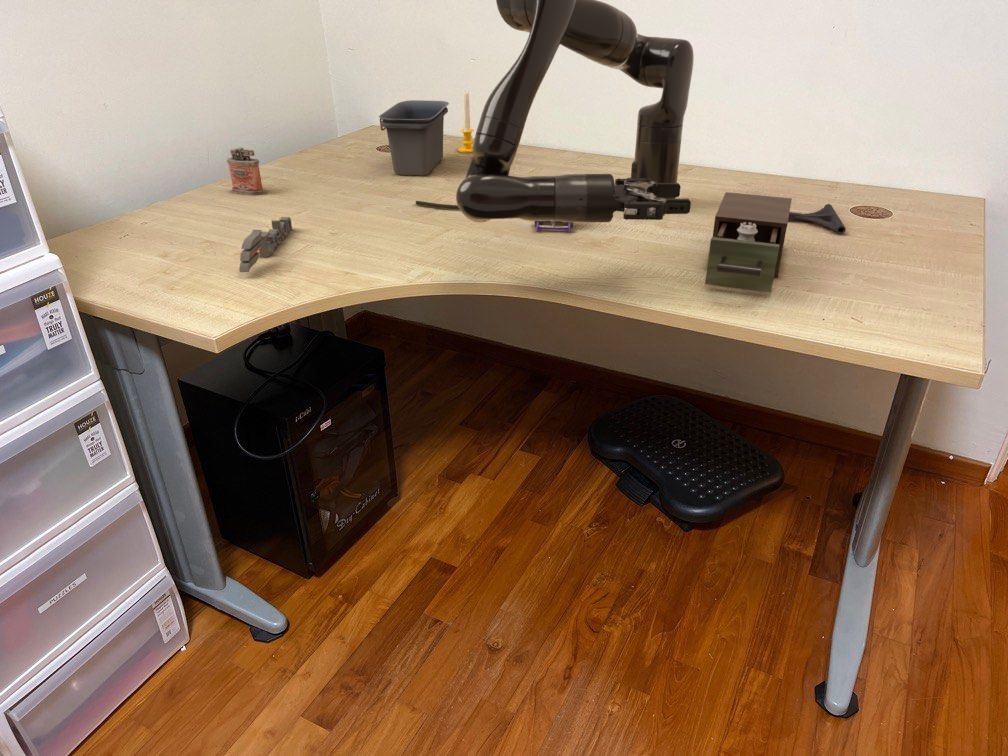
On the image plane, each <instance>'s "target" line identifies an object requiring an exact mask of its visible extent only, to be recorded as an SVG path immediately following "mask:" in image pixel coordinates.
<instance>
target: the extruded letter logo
mask: <svg viewBox="0 0 1008 756" xmlns="http://www.w3.org/2000/svg"><path fill="white" fill-rule="evenodd" d="M292 224H293V223H292V218H291V217H290V216H282V217H280V218H279V219H272V220H271V226H272V227H271V229H268V231H262V229H252V231H251V232H250V234H248V236H247V237H245V238H244V239H243V242H242V245H241V250H242V251H241V252H240V259H239V261H240V264H239V273H249V272H250V270H251V268H252V267H253V266H254V265H255V264H256V263H257V262H258V260H259V257H260V258H269V257H270V256H271V255H272V254H273V252H274V251H275V250H276V248H278V247H279V246H278V245H281V243H282V241H284V240H285V238H287V237H288V234H290V233H291V231H293V225H292Z"/></svg>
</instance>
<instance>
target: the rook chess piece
mask: <svg viewBox="0 0 1008 756" xmlns="http://www.w3.org/2000/svg"><path fill="white" fill-rule="evenodd" d="M751 224H752V223H748V225H746V222H744V223H743V224H742V223H741V224H740V227H739V228H738V229H737V231H738V233H739V237H738V238H737V239H738V240H744V241H753V242H754V241H755V239H754V235H755V234H756V233H757V232H758V231H757V229H756V224H753V226H751Z"/></svg>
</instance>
